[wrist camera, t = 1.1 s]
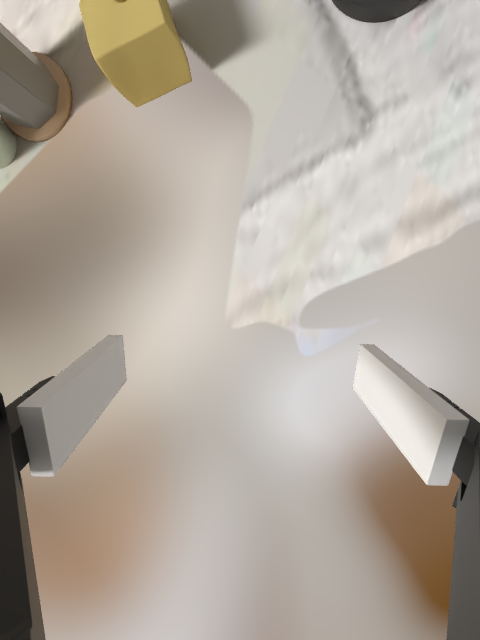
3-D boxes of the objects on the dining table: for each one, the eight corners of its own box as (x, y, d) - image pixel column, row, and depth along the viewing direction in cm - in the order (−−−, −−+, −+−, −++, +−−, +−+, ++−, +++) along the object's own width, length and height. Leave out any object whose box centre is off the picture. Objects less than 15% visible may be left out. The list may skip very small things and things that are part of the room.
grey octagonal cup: (4, 53, 46) (-81, -18, 36) (76, 60, 45) (9, -13, 34) (-2, 136, 48) (-85, 92, 37) (67, 146, 46) (1, 102, 36)
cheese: (114, 47, 44) (64, -24, 34) (176, 14, 42) (142, -72, 32) (135, 113, 44) (92, 62, 34) (197, 83, 42) (170, 21, 32)
